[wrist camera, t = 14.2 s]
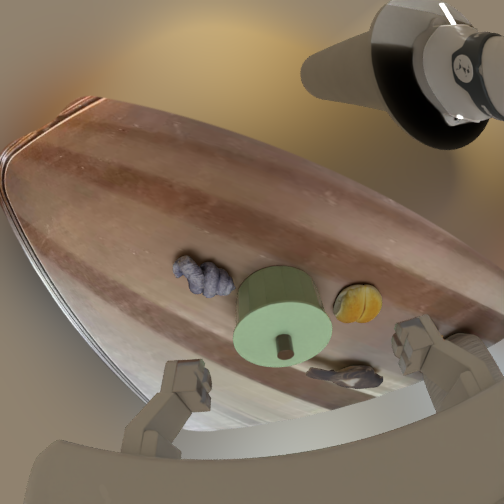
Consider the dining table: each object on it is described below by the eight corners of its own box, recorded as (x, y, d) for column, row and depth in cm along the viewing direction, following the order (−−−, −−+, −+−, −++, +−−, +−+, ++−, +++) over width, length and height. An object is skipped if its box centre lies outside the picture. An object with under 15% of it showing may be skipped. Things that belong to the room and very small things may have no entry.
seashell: (175, 257, 44) (234, 274, 47) (166, 289, 42) (228, 306, 45) (178, 246, 39) (244, 265, 42) (168, 282, 37) (237, 301, 40)
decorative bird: (370, 379, 65) (375, 394, 61) (294, 363, 58) (297, 382, 54) (387, 365, 62) (393, 380, 58) (311, 346, 55) (315, 366, 51)
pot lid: (330, 287, 37) (338, 308, 33) (330, 352, 44) (335, 372, 41) (222, 306, 38) (220, 328, 34) (244, 367, 45) (244, 387, 42)
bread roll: (369, 316, 51) (375, 331, 48) (328, 315, 50) (333, 330, 47) (386, 283, 47) (394, 297, 44) (343, 279, 46) (350, 295, 43)
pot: (314, 258, 44) (328, 294, 36) (318, 318, 51) (328, 354, 44) (228, 273, 45) (226, 311, 37) (245, 331, 52) (246, 368, 45)
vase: (421, 342, 58) (472, 457, 30) (481, 313, 55) (538, 409, 27) (413, 380, 69) (447, 473, 40) (465, 355, 66) (505, 438, 37)
